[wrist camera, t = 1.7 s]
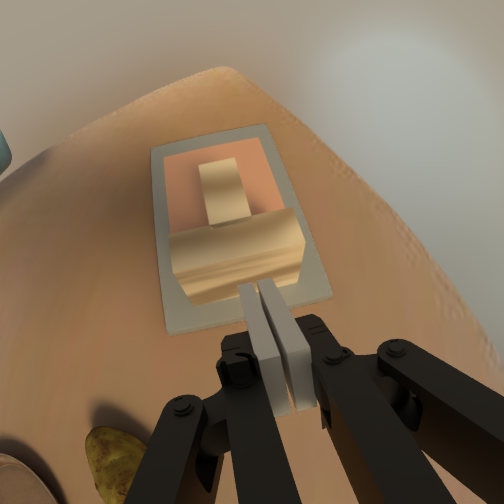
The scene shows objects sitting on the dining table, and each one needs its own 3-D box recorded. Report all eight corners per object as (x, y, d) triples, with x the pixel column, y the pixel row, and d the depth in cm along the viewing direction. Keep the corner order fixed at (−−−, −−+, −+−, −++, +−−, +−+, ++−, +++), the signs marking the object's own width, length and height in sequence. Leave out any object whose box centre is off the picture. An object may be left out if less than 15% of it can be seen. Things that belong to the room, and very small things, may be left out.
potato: (152, 411, 32) (123, 408, 25) (200, 511, 26) (183, 534, 19) (93, 431, 30) (55, 430, 23) (137, 526, 24) (107, 547, 17)
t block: (297, 282, 37) (305, 242, 29) (193, 306, 36) (172, 272, 28) (270, 199, 42) (270, 150, 34) (180, 220, 42) (162, 173, 34)
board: (330, 298, 37) (333, 294, 36) (170, 336, 36) (167, 332, 34) (265, 130, 51) (265, 123, 50) (152, 154, 50) (150, 148, 49)
